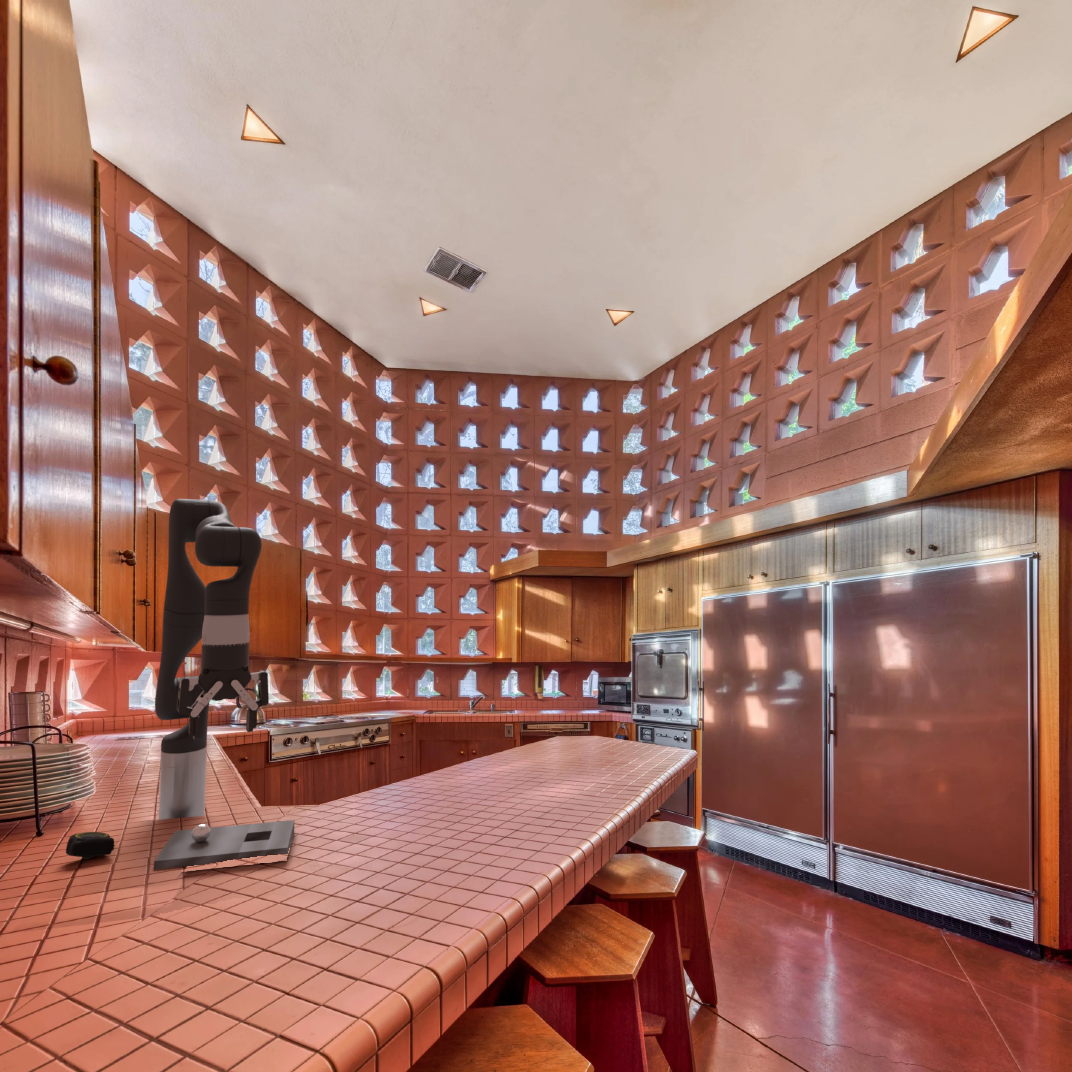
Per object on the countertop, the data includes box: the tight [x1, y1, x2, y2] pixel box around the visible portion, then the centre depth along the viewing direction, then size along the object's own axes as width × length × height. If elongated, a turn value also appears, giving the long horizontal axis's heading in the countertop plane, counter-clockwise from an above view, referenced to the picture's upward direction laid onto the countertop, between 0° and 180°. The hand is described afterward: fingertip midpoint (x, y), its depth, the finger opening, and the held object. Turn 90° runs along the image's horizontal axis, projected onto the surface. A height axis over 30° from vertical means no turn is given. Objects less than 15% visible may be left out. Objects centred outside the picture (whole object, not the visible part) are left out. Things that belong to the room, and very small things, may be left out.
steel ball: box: [192, 823, 211, 842], centre depth 123 cm, size 3×3×3 cm
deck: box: [153, 819, 295, 871], centre depth 124 cm, size 22×14×2 cm, turn 105°
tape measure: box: [65, 831, 115, 860], centre depth 121 cm, size 7×7×4 cm
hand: (223, 734), depth 113 cm, fingers open, 8 cm apart
